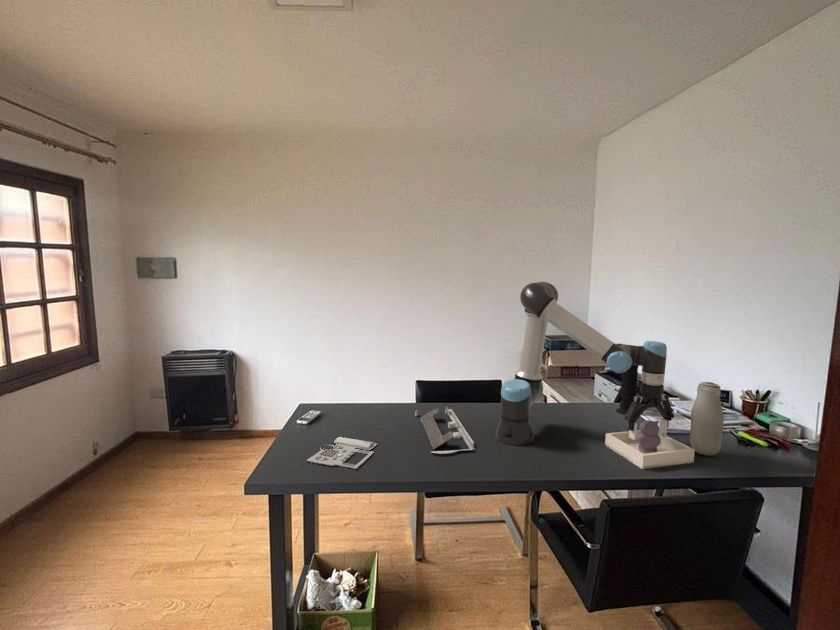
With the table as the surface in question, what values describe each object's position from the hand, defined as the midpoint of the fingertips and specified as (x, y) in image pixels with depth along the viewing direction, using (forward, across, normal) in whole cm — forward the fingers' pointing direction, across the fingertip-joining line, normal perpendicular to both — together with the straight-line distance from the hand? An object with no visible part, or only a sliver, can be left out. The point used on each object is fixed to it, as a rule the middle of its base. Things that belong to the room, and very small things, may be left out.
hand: (647, 437), depth 159 cm
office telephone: (+8, -112, +26) cm, 115 cm away
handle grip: (+7, +25, +41) cm, 48 cm away
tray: (+7, 0, 0) cm, 7 cm away
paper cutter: (+8, -70, +37) cm, 80 cm away
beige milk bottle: (+7, +21, -5) cm, 23 cm away
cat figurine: (+6, 0, 0) cm, 6 cm away
